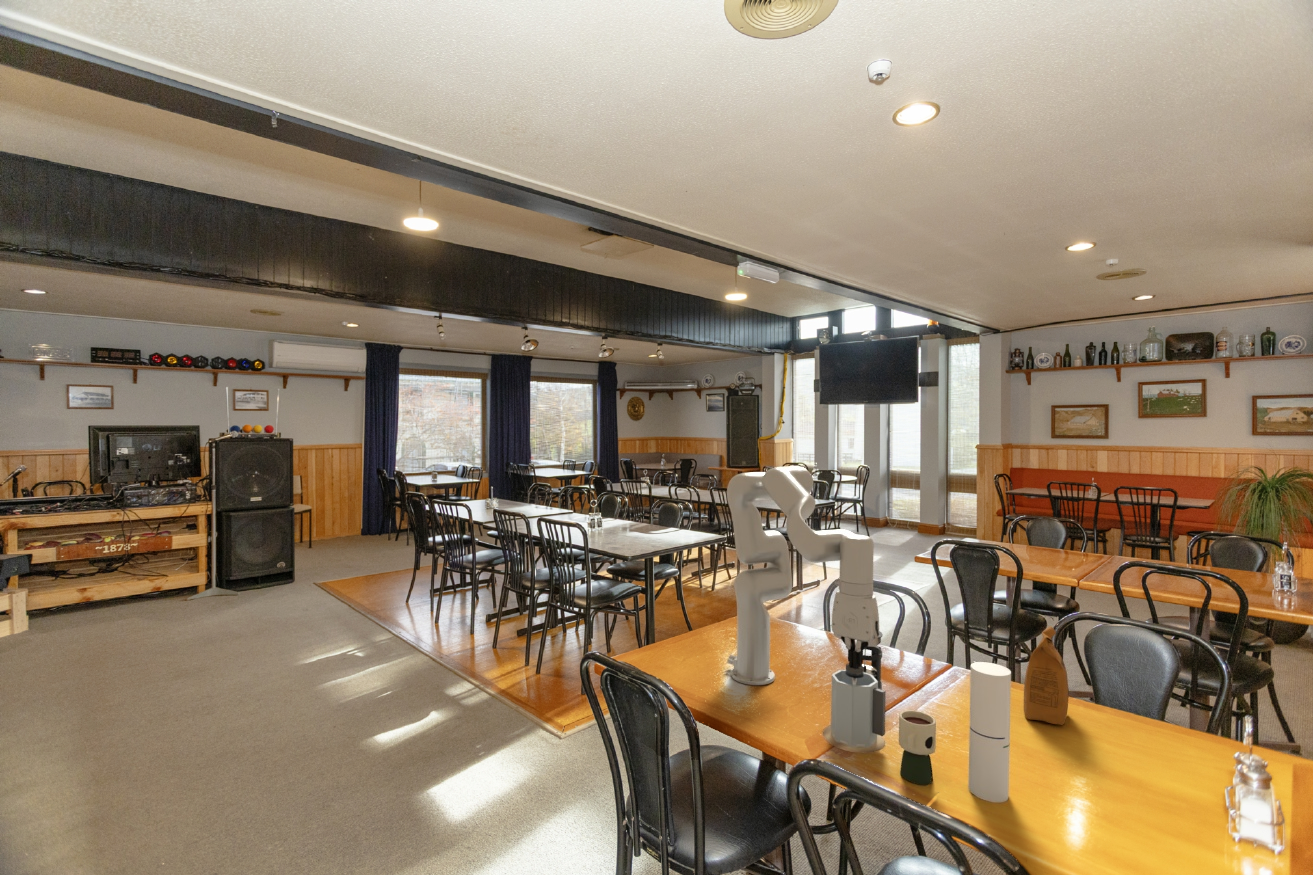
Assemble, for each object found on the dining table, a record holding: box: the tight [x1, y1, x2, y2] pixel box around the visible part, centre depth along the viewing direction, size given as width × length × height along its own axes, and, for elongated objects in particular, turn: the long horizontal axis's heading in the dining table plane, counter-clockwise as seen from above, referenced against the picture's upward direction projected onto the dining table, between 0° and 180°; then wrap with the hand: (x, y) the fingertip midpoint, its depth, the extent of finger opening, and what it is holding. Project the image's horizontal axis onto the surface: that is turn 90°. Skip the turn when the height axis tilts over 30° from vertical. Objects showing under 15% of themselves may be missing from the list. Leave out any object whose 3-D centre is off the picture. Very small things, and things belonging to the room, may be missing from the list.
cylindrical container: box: [967, 661, 1012, 804], centre depth 124 cm, size 7×7×25 cm
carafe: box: [830, 669, 886, 748], centre depth 144 cm, size 12×10×14 cm
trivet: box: [822, 724, 886, 754], centre depth 145 cm, size 14×14×1 cm
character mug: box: [898, 709, 937, 786], centre depth 128 cm, size 11×7×13 cm, turn 143°
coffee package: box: [1023, 626, 1070, 726], centre depth 158 cm, size 10×12×22 cm
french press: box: [862, 630, 884, 690], centre depth 171 cm, size 12×9×23 cm
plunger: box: [845, 662, 864, 685], centre depth 144 cm, size 7×7×12 cm
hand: (855, 666), depth 144 cm, fingers closed
